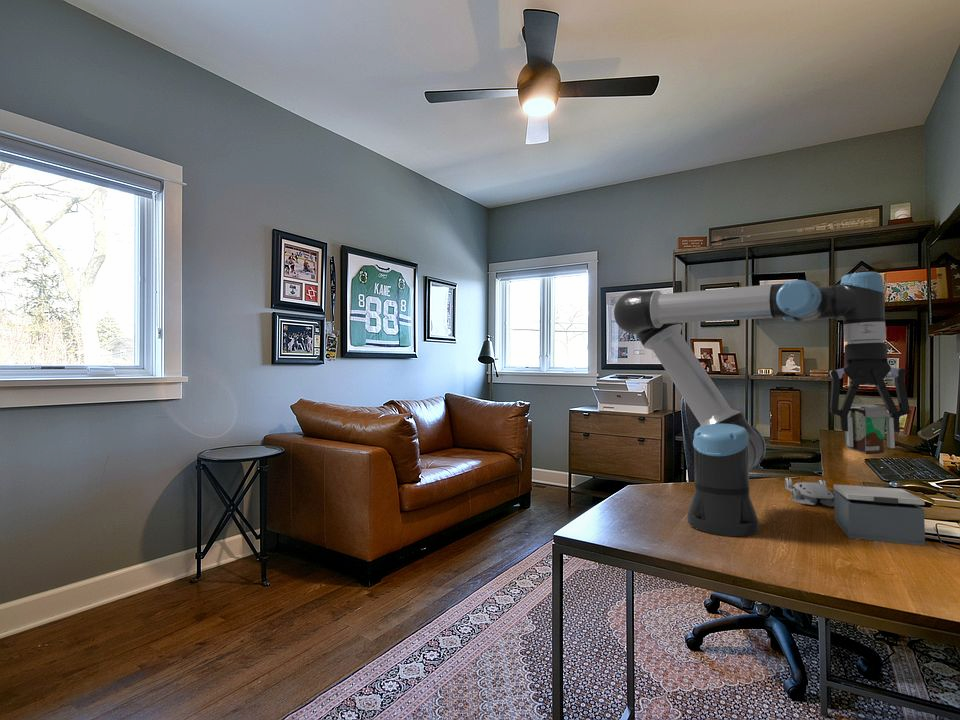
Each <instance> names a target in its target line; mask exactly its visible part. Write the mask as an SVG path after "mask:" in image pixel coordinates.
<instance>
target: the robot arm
mask: <svg viewBox="0 0 960 720" xmlns="http://www.w3.org/2000/svg"><path fill="white" fill-rule="evenodd" d="M883 281H884V280H883V276H882V274H880V273H879V272H877V271H859V272H854V273H847V274H845V275H843V276H842V277H841V279H840V283H839V284H836V285H829V286H828V285H827V286H819V287H818V286H817V285H815V283H813V282H811V281H807V280H805V279H793V280H791V281H790V280H789V281H788V282H786V283H785V282H784V283H775V284H773V283H772V284H763V285H749V286H748V285H747V286H740V287H739V286H738V287H728V288H719V289H718V288H717V289H715V288H714V289H707V290H706V289H703V290H695V291H684V292H672V293H662V291H660V290H648V291H645V290H644V291H641V290H639V291H638V290H635V291H634V290H633V291H629V292H627V293H625V294H623V295H621V296H620V297H619V299H618V300H617V302H616V303H615V305H614V310H613V316H614V317H613V318H614V320H615V322H616V324H617V326H618V328H620V329H621V330H622V331H624V332H626V333H628V334H632V335H633V334H634V335H636V337H637V338H638V340H639V341H640V343H641V345H642V346H643V348H645V349H648V350H651V351H653V353H654V355H655V356H656V358H657V359H658V361H659V362H660V364H661V365H662V367H663V368H664V370H665V371H666V373H667V375H668V376H669V378H670V379H671V381H672V382H673V383H674V385H675V387H676V389H677V390H678V392H679V394H680V395H681V397H682V398H683V399H684V401H685V403H686V404H687V406H688V407H689V409H690V410H691V412H692V414H693V415H694V417H695V418H696V420H697V421H698V423H699V427H697V428H696V429H695V430H694V433H693V441H692V446H693V462H694V463H693V466H694V468H693V469H694V471H693V472H694V493H693V496H692V499H691V502H690V504H689V508H688V511H687V524H688V523H689V524H690V525H691V526H693V527H694V528H693V527H692V528H693V529H695V528H697V529H696V530H698V529H699V530H698V531H700V530H702V531H701V532H704V531H705V533H708V534H712V533H713V535H719V536H729V537H730V536H731V537H732V536H733V537H742V536H744V537H745V536H751V535H755V534H756V533H758V532H759V530H760V529H759V527H760V526H759V523H760V522H759V518H758V516H757V512H756V510H755V508H754V505H753V502H752V499H751V496H750V470H752V469H755V468H757V467H758V466H759V465H760V464H761V463H762V461H763V459H764V457H765V455H766V451H767V450H766V448H767V445H766V441H765V437H764V436H763V435H762V433H761V432H760V431H759V430H758V429H757V428H756V427H754V426H753V425H750V423H749V422H748V421H747V419H746V417H745V416H744V415H743V413H742V412H741V410H738V409H737V410H736V409H733V408H731V406H730V404H729V403H728V402H727V400H726V399H725V397H724V396H723V395H722V393H721V392H720V390H719V389H718V387H717V386H716V384H715V383H714V381H713V380H712V378H711V377H710V375H709V374H708V372H707V371H706V369H705V368H704V366H703V365H702V363H701V362H700V361H699V359H698V357H697V356H696V355H695V353H694V352H693V350H692V348H691V347H690V346H689V344H688V342H687V341H686V339H685V338H684V337H683V335H682V334H681V333H682V329H683V325H682V324H684V323H685V324H686V323H703V322H720V321H721V322H723V321H737V320H739V321H740V320H741V321H743V320H755V319H756V320H757V319H776V318H777V319H781V318H782V320H784V322H803V321H806V322H807V321H814V320H826V319H828V320H829V319H840V318H842V320H843V323H842V325H843V341H844V342H845V343H846V344H845V345H844V365H843V367H842V368H838V369H835V370H830V371H829V372H828V373H829V377H830V380H831V387H830V388H831V390H830V401H829V402H830V403H829V412H830V413H831V414H833V415H836V416H838V417H839V425H840V430H841V431H842V432H845V431H846V434H847V446H849V447H853V427H852V417H848V413H849V411H850V408H851V405H852V404H854V403H853V402H854V400H855V397H856V395H857V391H858V390H859V387H860V385H861V386H862V385H863V386H864V385H874V386H875V387H876V389H877V391H878V393H879V395H880V397H881V400H882V401H883V404H884V406H885V408H886V409H887V411H888V414H889V416H887V417H885V433H886V446H887V448H889V449H895V448H896V446H895V445H896V443H895V442H896V441H895V433H899V432H900V430H901V428H900V425H901V424H900V418H901V417H902V416H906V415H909V414H911V410H910V404H909V399H908V393H907V392H908V391H907V387H906V380H905V378H906V375H907V370H906V369H905V368H899V367H898V368H897V367H892V366H891V365H890V364H889V362H888V349H887V348H888V346H887V343H886V342H884V341H885V340H886V339H887V333H886V332H887V328H886V309H885V307H886V306H885V289H884V282H883ZM889 373H890V374H891V377H892V378H894V385H895V387H894V388H895V392H896V396H897V402H898V403H897V404H898V408H899V409H898V408H897V406H896V404H895V402H894V400H893V398H892V396H891V394H890V392H889V390H888V387H887V386H886V383H885V381H884V379H885V378H886V376H887V375H888V374H889ZM843 374H845V375H846V377H848V378H849V379H850V382H849V385H848V389H847V392H846V394H845V397H844V400H843V402H842V404H843V405H841V408H840V409H839V402H840V388H841V380H840V379H842V378H843ZM689 524H688V525H689ZM690 525H689V526H690ZM691 526H690V527H691Z"/></svg>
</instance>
